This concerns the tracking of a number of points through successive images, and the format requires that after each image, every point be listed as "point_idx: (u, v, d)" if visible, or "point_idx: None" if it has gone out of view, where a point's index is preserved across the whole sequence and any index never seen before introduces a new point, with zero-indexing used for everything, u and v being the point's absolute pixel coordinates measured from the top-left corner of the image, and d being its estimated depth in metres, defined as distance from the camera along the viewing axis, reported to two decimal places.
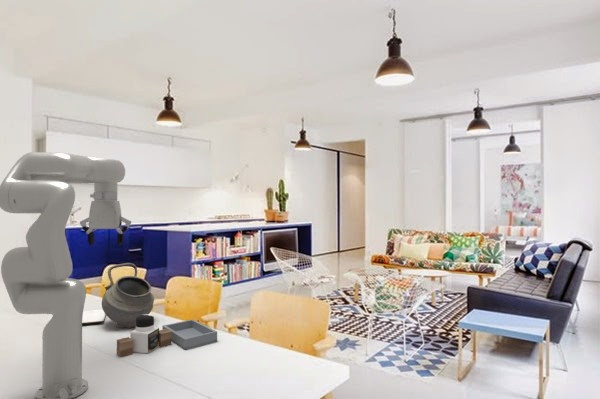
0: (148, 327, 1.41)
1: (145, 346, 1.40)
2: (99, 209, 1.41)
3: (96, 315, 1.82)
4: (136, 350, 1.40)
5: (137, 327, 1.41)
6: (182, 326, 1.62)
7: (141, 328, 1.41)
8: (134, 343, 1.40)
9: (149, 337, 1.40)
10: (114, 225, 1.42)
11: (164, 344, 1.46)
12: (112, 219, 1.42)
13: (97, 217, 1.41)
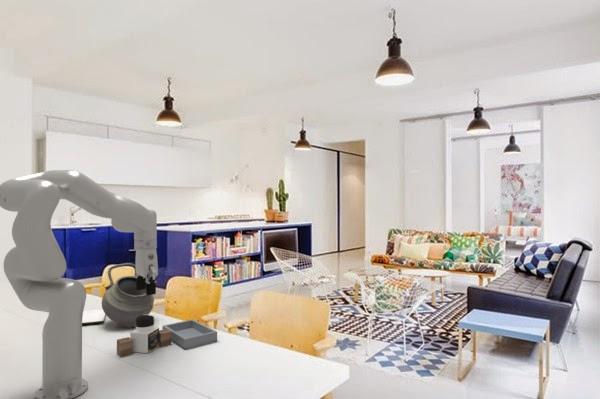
0: (148, 327, 1.41)
1: (145, 346, 1.40)
2: None
3: (96, 315, 1.82)
4: (136, 350, 1.40)
5: (137, 327, 1.41)
6: (182, 326, 1.62)
7: (141, 328, 1.41)
8: (134, 343, 1.40)
9: (149, 337, 1.40)
10: None
11: (164, 344, 1.46)
12: None
13: None
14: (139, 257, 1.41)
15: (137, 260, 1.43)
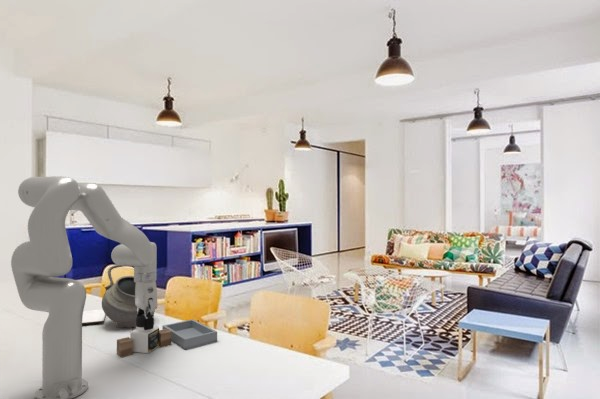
0: None
1: (145, 346, 1.40)
2: None
3: (96, 315, 1.82)
4: (136, 350, 1.40)
5: (137, 327, 1.41)
6: (182, 326, 1.62)
7: (141, 328, 1.41)
8: (134, 343, 1.40)
9: (149, 337, 1.40)
10: None
11: (164, 344, 1.46)
12: None
13: None
14: (139, 290, 1.41)
15: (137, 292, 1.43)
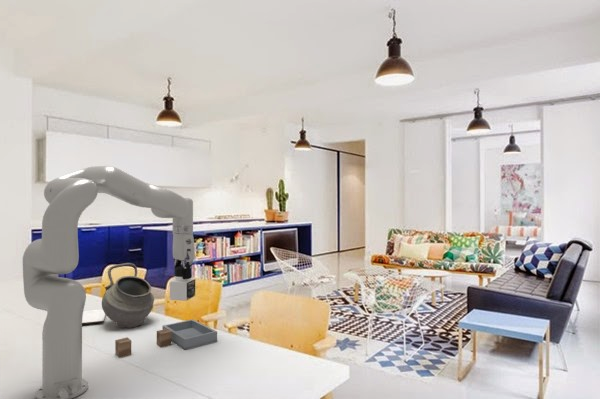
0: None
1: (184, 294, 1.49)
2: None
3: (96, 315, 1.82)
4: (175, 298, 1.50)
5: (176, 277, 1.50)
6: (182, 326, 1.62)
7: (180, 277, 1.50)
8: (173, 291, 1.50)
9: (187, 286, 1.49)
10: None
11: (164, 344, 1.46)
12: None
13: None
14: (177, 242, 1.50)
15: (175, 245, 1.52)
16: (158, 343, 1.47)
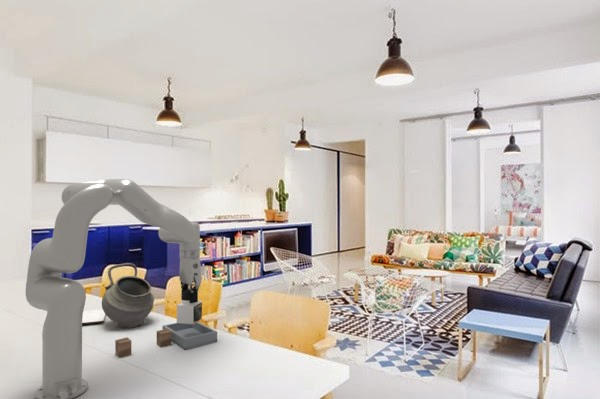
0: None
1: (190, 318, 1.51)
2: None
3: (96, 315, 1.82)
4: (182, 321, 1.52)
5: (183, 300, 1.52)
6: (182, 326, 1.62)
7: (187, 301, 1.52)
8: (180, 315, 1.52)
9: (194, 309, 1.51)
10: None
11: (164, 344, 1.46)
12: None
13: None
14: (184, 266, 1.52)
15: (182, 269, 1.54)
16: (158, 343, 1.47)
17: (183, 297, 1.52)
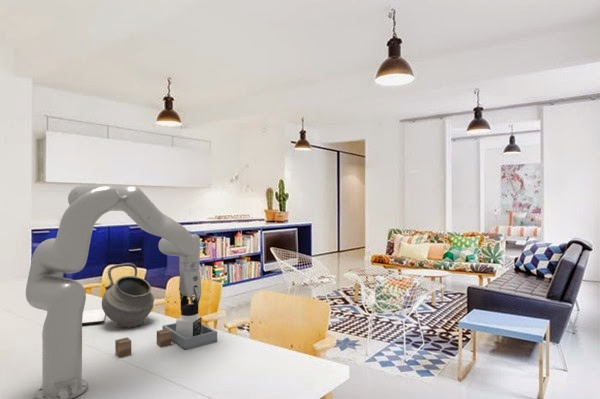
0: (192, 316, 1.52)
1: (190, 333, 1.51)
2: None
3: (96, 315, 1.82)
4: None
5: (182, 315, 1.52)
6: None
7: (186, 316, 1.52)
8: (180, 330, 1.51)
9: (194, 325, 1.51)
10: None
11: (164, 344, 1.46)
12: None
13: None
14: (184, 278, 1.52)
15: (182, 281, 1.54)
16: (158, 343, 1.47)
17: (183, 312, 1.52)
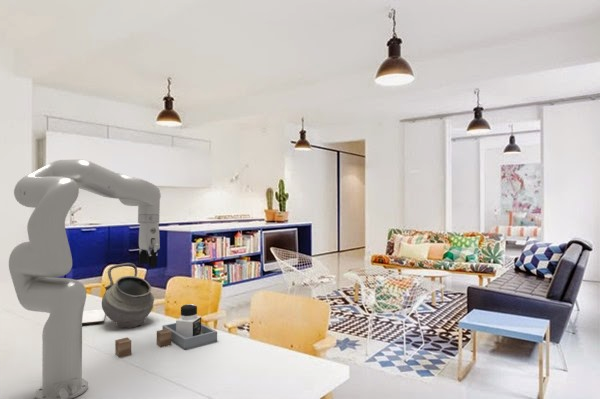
0: (192, 316, 1.52)
1: (190, 333, 1.51)
2: None
3: (96, 315, 1.82)
4: None
5: (182, 316, 1.52)
6: None
7: (186, 316, 1.52)
8: (180, 330, 1.51)
9: (193, 325, 1.51)
10: None
11: (164, 344, 1.46)
12: None
13: None
14: (142, 231, 1.48)
15: (140, 234, 1.49)
16: (158, 343, 1.47)
17: (182, 312, 1.52)
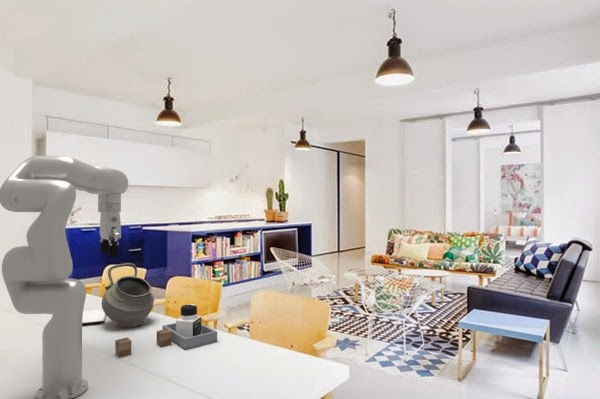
0: (192, 316, 1.52)
1: (190, 333, 1.51)
2: None
3: (96, 315, 1.82)
4: None
5: (182, 316, 1.52)
6: None
7: (186, 316, 1.52)
8: (180, 330, 1.51)
9: (193, 325, 1.51)
10: None
11: (164, 344, 1.46)
12: None
13: None
14: (102, 220, 1.43)
15: (101, 223, 1.45)
16: (158, 343, 1.47)
17: (182, 312, 1.52)
